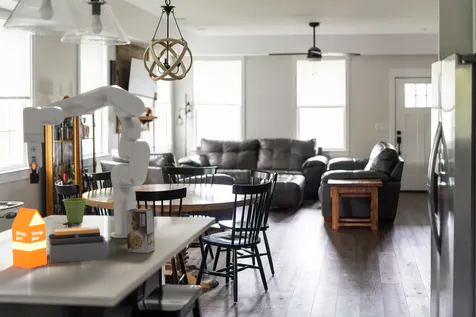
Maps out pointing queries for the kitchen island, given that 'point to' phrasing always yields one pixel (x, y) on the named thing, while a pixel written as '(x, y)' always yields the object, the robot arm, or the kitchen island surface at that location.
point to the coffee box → (140, 230)
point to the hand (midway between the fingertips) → (34, 182)
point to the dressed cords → (73, 240)
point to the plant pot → (74, 209)
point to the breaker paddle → (76, 230)
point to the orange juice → (29, 239)
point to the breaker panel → (77, 251)
